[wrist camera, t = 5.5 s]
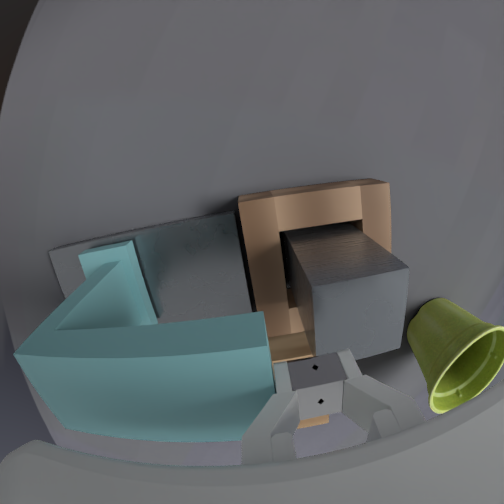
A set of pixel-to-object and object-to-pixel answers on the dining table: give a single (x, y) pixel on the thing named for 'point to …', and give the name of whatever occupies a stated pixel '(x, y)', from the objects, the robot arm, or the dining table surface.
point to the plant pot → (454, 352)
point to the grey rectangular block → (346, 289)
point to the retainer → (145, 361)
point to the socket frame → (236, 252)
